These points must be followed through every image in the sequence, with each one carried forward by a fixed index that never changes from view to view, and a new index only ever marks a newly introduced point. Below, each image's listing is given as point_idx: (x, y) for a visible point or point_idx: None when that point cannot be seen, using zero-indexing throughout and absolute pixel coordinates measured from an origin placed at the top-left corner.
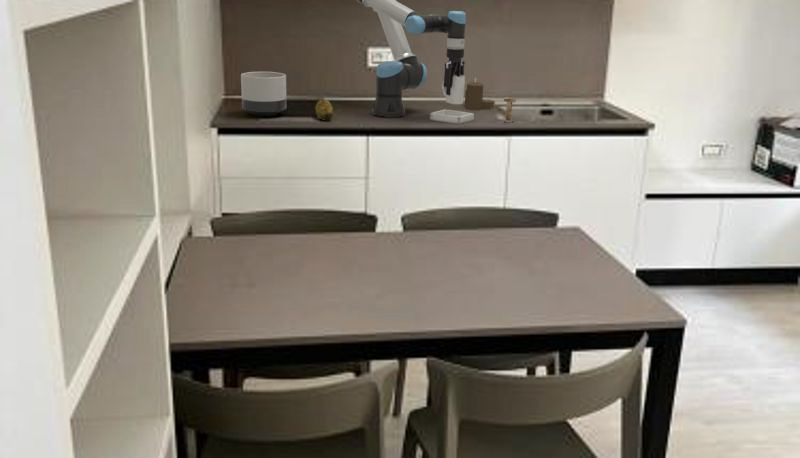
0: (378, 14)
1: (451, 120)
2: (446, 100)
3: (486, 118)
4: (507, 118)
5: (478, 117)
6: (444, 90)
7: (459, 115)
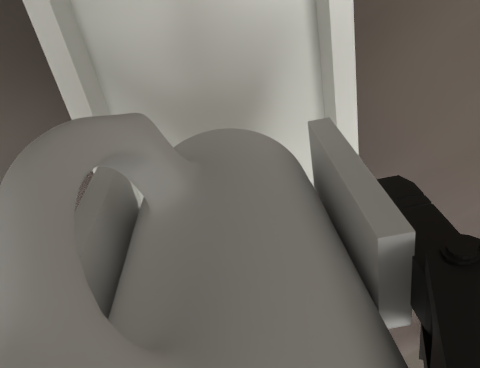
0: None
1: None
2: (98, 179)
3: (468, 200)
4: None
5: (469, 147)
6: (96, 166)
7: (327, 99)
